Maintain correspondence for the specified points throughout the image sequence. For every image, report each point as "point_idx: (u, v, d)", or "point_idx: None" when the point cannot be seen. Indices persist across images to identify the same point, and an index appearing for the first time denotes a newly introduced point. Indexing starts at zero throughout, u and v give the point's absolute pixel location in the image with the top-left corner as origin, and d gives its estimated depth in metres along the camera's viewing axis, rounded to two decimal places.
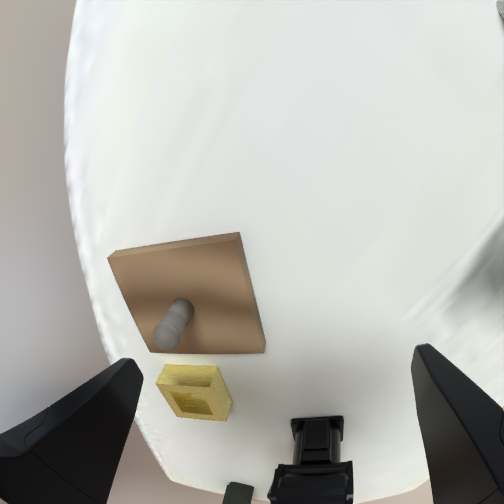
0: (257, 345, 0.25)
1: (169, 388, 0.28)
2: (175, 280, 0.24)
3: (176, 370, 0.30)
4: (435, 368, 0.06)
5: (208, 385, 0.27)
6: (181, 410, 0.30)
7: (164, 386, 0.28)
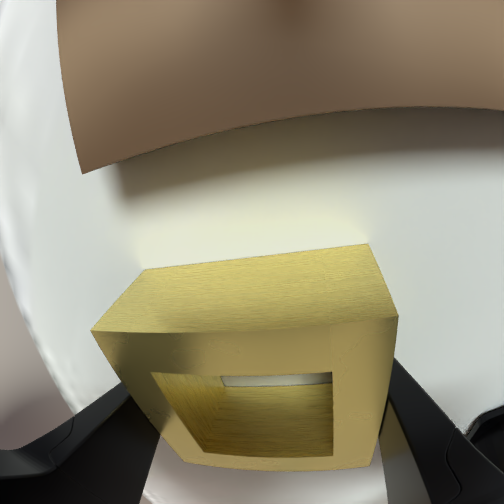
0: None
1: (151, 356, 0.06)
2: None
3: (187, 278, 0.07)
4: None
5: (387, 308, 0.05)
6: (203, 445, 0.08)
7: (129, 345, 0.06)
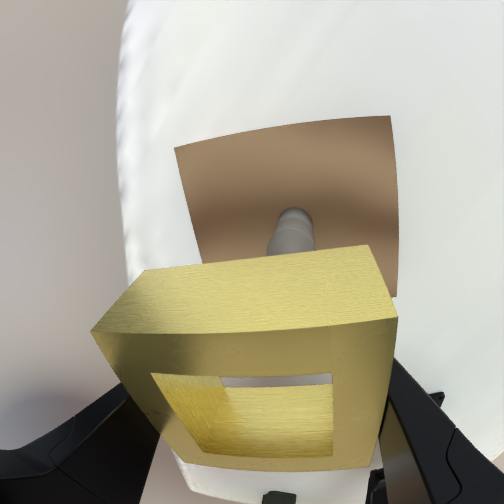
0: (391, 284, 0.17)
1: (151, 357, 0.06)
2: (291, 177, 0.15)
3: (187, 279, 0.07)
4: None
5: (386, 310, 0.05)
6: (203, 446, 0.08)
7: (129, 346, 0.06)
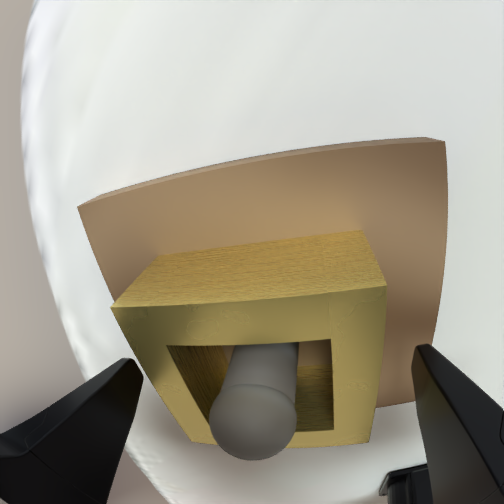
0: (412, 390, 0.10)
1: (168, 329, 0.07)
2: None
3: (199, 261, 0.08)
4: (435, 368, 0.06)
5: (377, 280, 0.06)
6: None
7: (147, 319, 0.07)
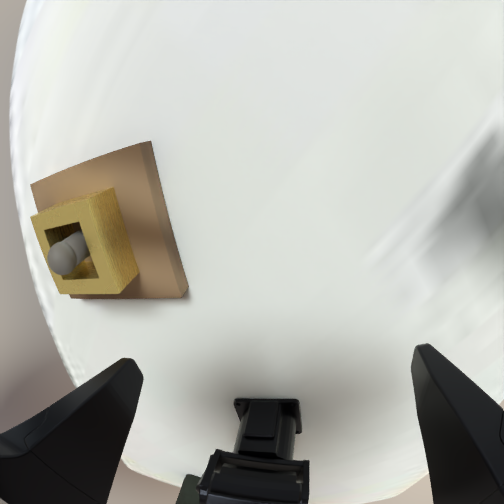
0: (173, 286, 0.20)
1: (43, 222, 0.17)
2: None
3: (62, 202, 0.18)
4: (435, 368, 0.06)
5: (87, 199, 0.15)
6: (63, 276, 0.18)
7: (39, 219, 0.17)
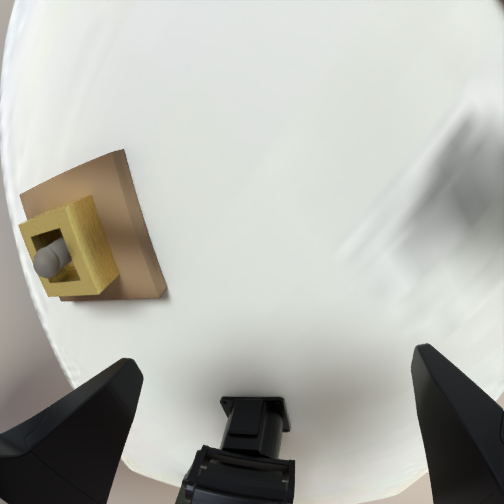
0: (150, 286, 0.21)
1: (30, 230, 0.17)
2: None
3: (47, 210, 0.19)
4: (435, 368, 0.06)
5: (65, 206, 0.16)
6: (50, 280, 0.19)
7: (26, 227, 0.17)
